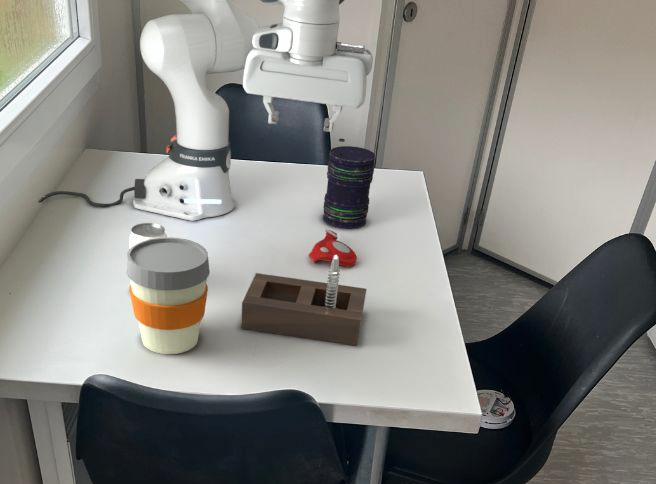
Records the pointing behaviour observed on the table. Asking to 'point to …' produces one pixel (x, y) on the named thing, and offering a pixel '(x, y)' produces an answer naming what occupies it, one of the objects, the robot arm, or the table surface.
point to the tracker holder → (333, 250)
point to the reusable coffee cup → (168, 292)
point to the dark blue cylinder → (348, 187)
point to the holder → (302, 309)
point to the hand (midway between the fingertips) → (300, 126)
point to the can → (146, 232)
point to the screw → (332, 283)
